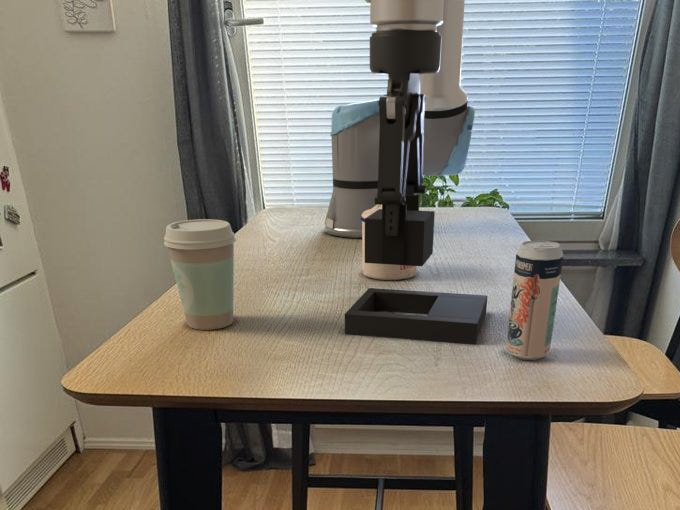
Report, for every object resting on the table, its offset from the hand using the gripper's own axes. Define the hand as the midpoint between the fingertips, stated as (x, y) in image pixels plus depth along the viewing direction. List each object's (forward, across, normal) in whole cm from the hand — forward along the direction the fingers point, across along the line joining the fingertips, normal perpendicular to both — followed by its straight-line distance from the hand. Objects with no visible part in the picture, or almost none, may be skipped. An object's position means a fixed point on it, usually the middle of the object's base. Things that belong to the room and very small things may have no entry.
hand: (400, 256), depth 81 cm
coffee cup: (+8, +6, -24) cm, 26 cm away
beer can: (+8, +8, +16) cm, 20 cm away
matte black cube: (0, 0, 0) cm, 0 cm away
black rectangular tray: (+8, 0, +2) cm, 9 cm away
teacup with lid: (+8, -25, -6) cm, 27 cm away
